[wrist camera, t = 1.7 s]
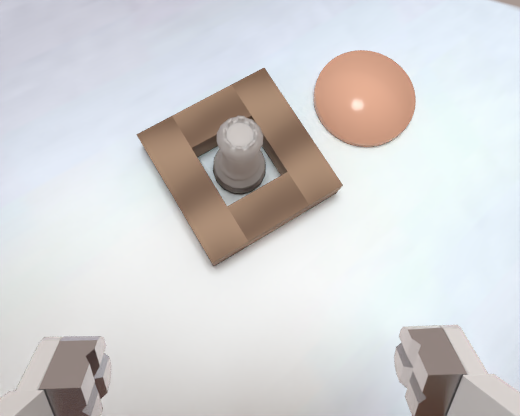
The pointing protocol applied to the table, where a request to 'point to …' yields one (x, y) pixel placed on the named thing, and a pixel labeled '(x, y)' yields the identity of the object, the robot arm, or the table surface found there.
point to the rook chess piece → (239, 155)
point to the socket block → (259, 201)
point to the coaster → (364, 98)
